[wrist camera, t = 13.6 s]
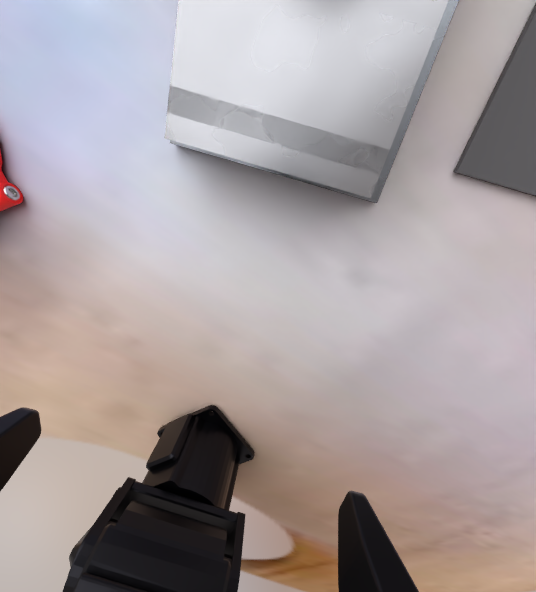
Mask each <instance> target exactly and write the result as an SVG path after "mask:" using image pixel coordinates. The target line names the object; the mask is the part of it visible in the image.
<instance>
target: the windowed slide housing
mask: <svg viewBox="0 0 536 592" xmlns="http://www.w3.org/2000/svg"><path fill="white" fill-rule="evenodd" d="M458 1H459V0H178V10H177V20H176V30H175V40H174V50H173V59H172V69H171V79H170V89H169V99H168V108H167V118H166V128H165V139H169V140H170V143H172V144H175V145H179V146H182V147H186V148H189V149H192V150H196V151H199V152H203V153H206V154H210V155H213V156H216V157H220V158H223V159H227V160H230V161H234V162H237V163H240V164H244V165H247V166H251V167H254V168H258V169H261V170H264V171H268V172H271V173H275V174H278V175H282V176H285V177H288V178H292V179H295V180H299V181H302V182H306V183H309V184H312V185H316V186H319V187H323V188H326V189H330V190H333V191H336V192H340V193H343V194H347V195H350V196H354V197H357V198H361V199H364V200H367V201H371V202H374V203H377V201H378V199H379V196H380V194H381V191H382V189H383V187H384V184H385V182H386V179H387V177H388V174H389V172H390V169H391V167H392V164H393V162H394V159H395V157H396V154H397V152H398V149H399V147H400V145H401V142H402V140H403V137H404V135H405V132H406V130H407V127H408V125H409V122H410V120H411V117H412V115H413V112H414V110H415V107H416V105H417V103H418V100H419V98H420V95H421V93H422V90H423V88H424V85H425V83H426V80H427V78H428V75H429V73H430V70H431V68H432V65H433V63H434V61H435V58H436V56H437V53H438V51H439V48H440V46H441V43H442V41H443V38H444V36H445V33H446V31H447V28H448V26H449V23H450V21H451V19H452V16H453V14H454V11H455V9H456V6H457V4H458Z"/></svg>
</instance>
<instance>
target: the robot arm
mask: <svg viewBox="0 0 536 592" xmlns="http://www.w3.org/2000/svg"><path fill="white" fill-rule="evenodd" d="M211 411H213V412H211ZM40 434H41V424H40V417H39V413H38V411H36V410H33V409H29V408H19V409H17V410H15V411H12V412H10V413H8V414H6V415H3V416H1V417H0V491H1V489H3V487H4V486H5V484H6V483H7V482H8V480H9V479H10V478H11V476H12V475H13V473H14V472H15V471H16V469H17V468H18V466H19V465H20V463H21V462H22V461H23V459H24V458H25V457H26V455H27V454H28V453H29V451H30V450H31V448H32V447H33V446H34V444H35V442H36V441H37V440H38V438H39V436H40ZM157 434H158V436H159V437H160V439H159V441H158V443H157V445H156V447H155V448H154V450H153V452H152V454H151V456H150V458H149V460H148V462H147V465H146V468H147V469H148V470H149V471H148V473H147V475H146V477H145V479H144V481H143V483H140V482H137V481H136V480H135V479H133V478H129V477H128V478H127V480H126V481H125V483H124V484H123V486H122V487H121V488H118V490H116V492H115V494H114V495H113V497H112V499H111V500H110V502H109V503H108V504H107V506H106V507H105V509H104V510H103V512H102V513H101V515H100V516H99V517H98V519H97V520H96V522H95V523H94V525H93V526H92V527H91V528H90V529H89V530H88V531H87V533H86V534H85V535H84V536H83V537H82V538H81V539H80V541H79V542H78V543H77V544H76V545H75V547H74V548H73V550H72V552H71V554H70V556H69V560H70V566H71V569H70V571H69V574H68V578H67V581H66V583H65V586H64V589H63V592H237V590H238V583H239V577H240V567H241V556H242V544H243V534H244V523H245V514H243V513H240V512H238V513H235V512H232V511H229V507H230V502H231V499H232V494H233V489H234V485H235V480H236V476H237V471H238V466H239V464H241V463H244V462H247V461H249V460H252V459H253V458H254V451H253V449H252V448H251V447H250V446H249V445H248V443H247V442H246V441H245V440H244V439H243V438H242V436H241V435H240V434H239V433H238V432H237V430H236V429H235V428H234V427H233V426H232V424H231V423H230V422H229V421H228V420H227V419H226V417H225V416H224V415H223V414H222V413H221V411H220V410H219V409H218V408H217V407H216V406H213V405H211V406H208V407H205V408H203V409H201V410H199V411H196V412H194V413H192V414H187V415H185V416H183V417H181V418H178V419H176V420H174V421H172V422H169V423H168V424H167V425H165V426H163V427H161V428H160V429H159V431H158V433H157ZM338 585H339V592H419V591H418V589H417V587H416V586H415V584H414V582H413V580H412V578H411V577H410V575H409V573H408V571H407V569H406V568H405V566H404V564H403V562H402V561H401V559H400V557H399V555H398V553H397V552H396V550H395V548H394V546H393V544H392V543H391V541H390V539H389V537H388V536H387V534H386V532H385V530H384V528H383V527H382V525H381V523H380V521H379V519H378V518H377V516H376V514H375V512H374V511H373V509H372V507H371V505H370V503H369V502H368V500H367V498H366V497H365V495H363V494H362V493H358V492H354V491H349V492H348V493H347V495H346V497H345V499H344V501H343V502H342V504H341V506H340V509H339V515H338Z"/></svg>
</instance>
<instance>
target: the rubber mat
mask: <svg viewBox="0 0 536 592" xmlns="http://www.w3.org/2000/svg"><path fill="white" fill-rule="evenodd" d="M454 172H455V173H459V174H462V175H466V176H469V177H472V178H476V179H479V180H483V181H486V182H489V183H493V184H496V185H500V186H503V187H507V188H510V189H513V190H517V191H520V192H524V193H527V194H530V195H534V196H536V5H535V7H534V9H533V11H532V13H531V15H530V17H529V19H528V21H527V23H526V25H525V27H524V29H523V31H522V33H521V35H520V37H519V39H518V41H517V43H516V45H515V47H514V49H513V51H512V54H511V56H510V58H509V60H508V62H507V64H506V66H505V68H504V70H503V72H502V74H501V76H500V78H499V80H498V82H497V84H496V86H495V88H494V90H493V92H492V94H491V96H490V98H489V100H488V103H487V105H486V107H485V109H484V111H483V113H482V115H481V117H480V119H479V121H478V123H477V125H476V127H475V129H474V131H473V133H472V135H471V137H470V139H469V141H468V143H467V145H466V147H465V150H464V152H463V154H462V156H461V158H460V160H459V162H458V164H457V166H456V168H455V170H454Z"/></svg>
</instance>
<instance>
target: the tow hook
mask: <svg viewBox="0 0 536 592" xmlns="http://www.w3.org/2000/svg"><path fill="white" fill-rule="evenodd" d="M1 170H2V157H1V150H0V211H3V210H5V209H8V208H10V207H13V206H15V205H18V204H20V203H22V201H23V195H22V193H21V191H20V190H19V189H18V188H17V187H16V186H15V185H13V184H12V183H9V182H8V181H7V180H6V178H5V176H4V174H3V172H2V171H1Z"/></svg>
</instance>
